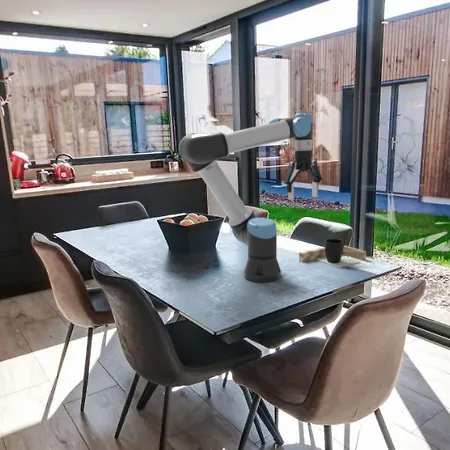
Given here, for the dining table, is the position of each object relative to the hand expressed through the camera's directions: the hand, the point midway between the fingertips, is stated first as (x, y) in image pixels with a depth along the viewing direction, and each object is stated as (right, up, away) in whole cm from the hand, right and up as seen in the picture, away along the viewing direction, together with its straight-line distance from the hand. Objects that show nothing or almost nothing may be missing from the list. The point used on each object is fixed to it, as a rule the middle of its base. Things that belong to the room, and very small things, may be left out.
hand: (303, 198), depth 192 cm
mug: (+16, -28, +3) cm, 32 cm away
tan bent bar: (+14, -28, +4) cm, 32 cm away
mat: (+16, -28, +3) cm, 33 cm away
